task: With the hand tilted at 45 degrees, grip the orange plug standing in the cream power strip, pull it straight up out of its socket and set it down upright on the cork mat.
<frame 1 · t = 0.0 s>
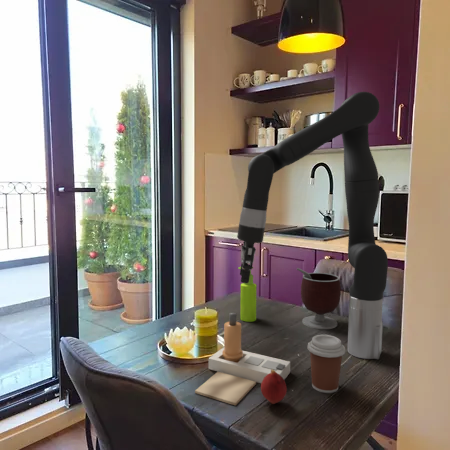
hand: (243, 278, 114), 22 cm above the table, fingers open, 8 cm apart
mate gourd: (317, 323, 141), on the table
onion: (273, 404, 89), on the table
coffee cup: (325, 386, 97), on the table
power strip: (249, 370, 105), on the table
soap dispenser: (246, 319, 145), on the table
cork mat: (226, 388, 96), on the table
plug: (232, 366, 107), resting in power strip
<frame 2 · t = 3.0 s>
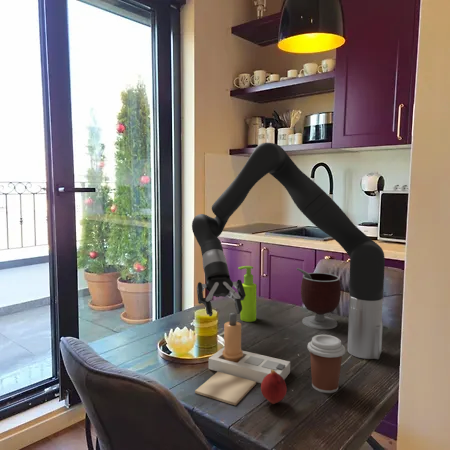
hand: (225, 313, 113), 12 cm above the table, fingers open, 8 cm apart
nothing on the table moved.
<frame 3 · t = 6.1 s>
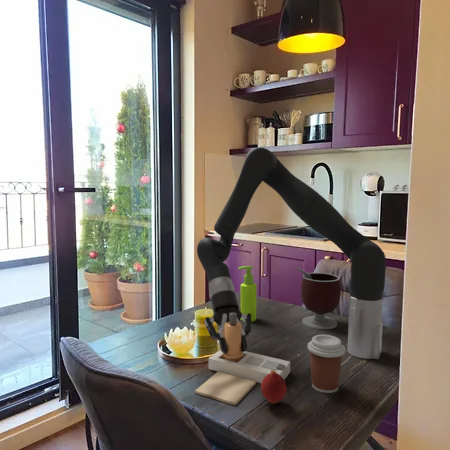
hand: (235, 351, 105), 5 cm above the table, fingers closed on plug, 4 cm apart
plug: (232, 366, 107), resting in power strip, touching gripper
everything else where it was.
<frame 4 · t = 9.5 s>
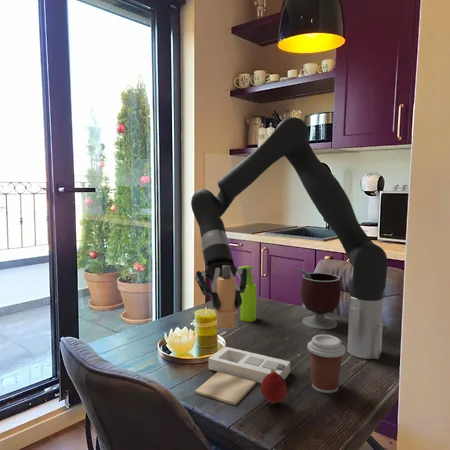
hand: (228, 307, 95), 20 cm above the table, fingers closed on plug, 4 cm apart
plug: (226, 325, 97), point 15 cm above the table, touching gripper
everything else where it was.
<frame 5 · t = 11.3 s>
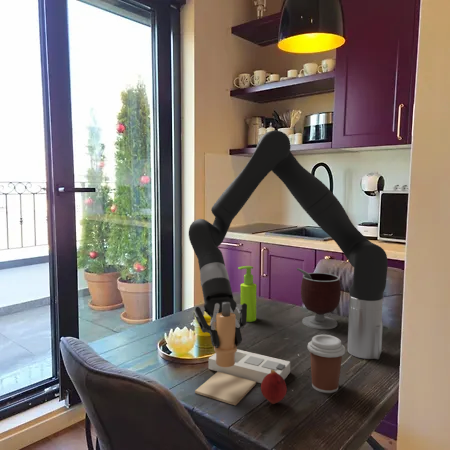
hand: (228, 345, 93), 12 cm above the table, fingers closed on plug, 4 cm apart
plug: (225, 362, 95), point 7 cm above the table, touching gripper
everything else where it was.
when the fingers open (7 cm above the table, at t = 13.0 s): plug drops 1 cm, resting on cork mat.
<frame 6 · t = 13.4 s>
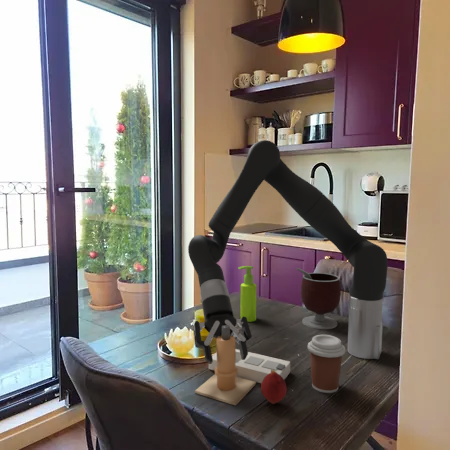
hand: (227, 360, 93), 8 cm above the table, fingers open, 8 cm apart
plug: (226, 385, 96), point 1 cm above the table, touching cork mat
everything else where it was.
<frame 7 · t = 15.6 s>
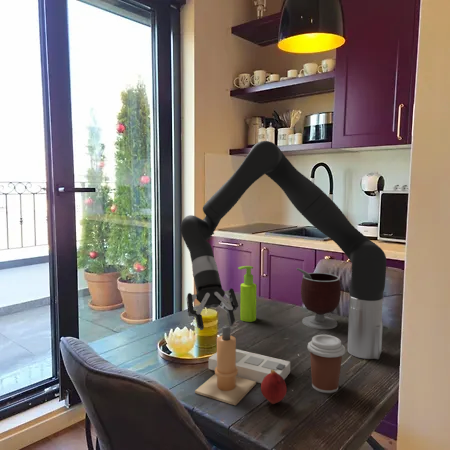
hand: (217, 326, 107), 11 cm above the table, fingers open, 8 cm apart
nothing on the table moved.
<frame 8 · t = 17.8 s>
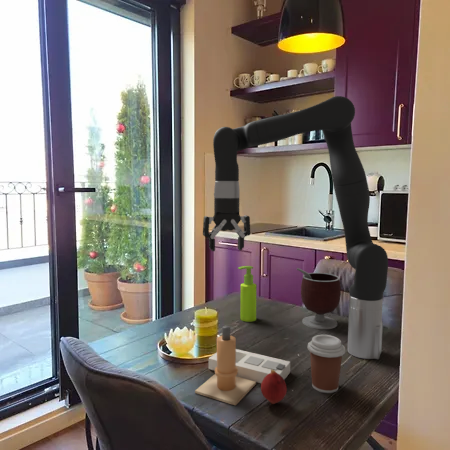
hand: (226, 250, 117), 30 cm above the table, fingers open, 8 cm apart
nothing on the table moved.
at the end: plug inside the target area on the cork mat (0.1 cm from its centre), point 0.6 cm above the cork mat's base; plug tilted 1°; the gripper is holding nothing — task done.
